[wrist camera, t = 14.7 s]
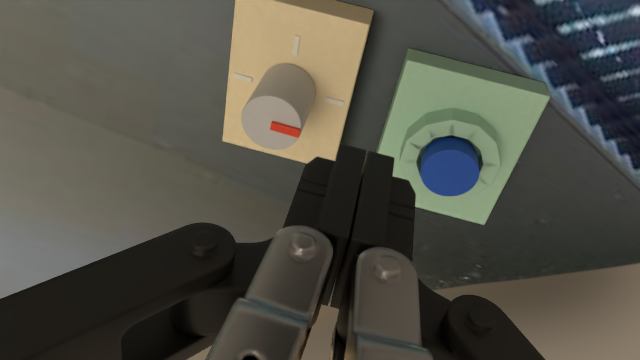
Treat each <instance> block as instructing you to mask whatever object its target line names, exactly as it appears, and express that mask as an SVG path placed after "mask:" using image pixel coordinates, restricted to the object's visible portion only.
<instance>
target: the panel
mask: <svg viewBox="0 0 640 360" xmlns="http://www.w3.org/2000/svg"><path fill="white" fill-rule="evenodd" d="M373 13H374V10H371V9H367V8H363V7H359V6H356V5H352V4H348V3H344V2H340V1H336V0H235V10H234V21H233V32H232V43H231V54H230V64H229V75H228V86H227V97H226V108H225V118H224V129H223V141H224V142H228V143H232V144H235V145H239V146H243V147H247V148H250V149H254V150H258V151H262V152H266V153H269V154H273V155H277V156H281V157H285V158H288V159H292V160H296V161H300V162H303V163H307V164H308V163H309V162H310V161H311V160H313V159H314V158H315V157H317V156H318V157H322V158H325V159H329V160H333V161H335V160H336V157H337V153H338V150H339V146H340V142H341V138H342V134H343V130H344V126H345V122H346V118H347V115H348V111H349V107H350V103H351V99H352V95H353V91H354V87H355V83H356V79H357V76H358V72H359V68H360V64H361V60H362V56H363V52H364V48H365V44H366V41H367V37H368V33H369V29H370V25H371V21H372V17H373ZM278 64H293V65H296V66H298V67H300V68H302V69H303V70H305V71H306V72H307V73H308V74H309V75H310V77H311V78H312V80H313V82H314V85H315V89H316V95H315V100H314V102H313V105H312V107H311V110H310V112H309V115H308V117H307V120H306V122H305V125H304V127H303V129H302V132H301V134H300V137H299V138H298V140H297V141H296V142H295V143H294V144H293V145H291V146H289V147H287V148H285V149H279V150H272V149H267V148H264V147H262V146H259V145H258V144H256V143H255V142H253V141H252V140H251V139H250V138H249V137H248V136H247V134H246V133H245V131H244V129H243V126H242V121H241V115H242V111H243V108H244V107H245V105H246V103H247V102H248V100H249V98H250V97H251V95H252V94H253V92H254V90H255V89H256V87H257V85H258V84H259V82H260V81H261V79H262V77H263V76H264V74H265V73H266V72H267V70H269V69H270V68H271V67H273V66H275V65H278Z"/></svg>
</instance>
